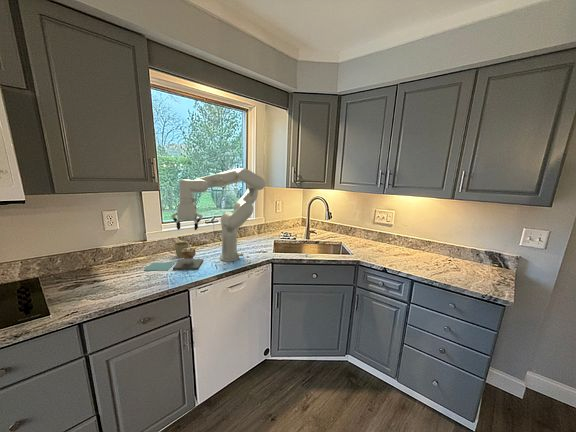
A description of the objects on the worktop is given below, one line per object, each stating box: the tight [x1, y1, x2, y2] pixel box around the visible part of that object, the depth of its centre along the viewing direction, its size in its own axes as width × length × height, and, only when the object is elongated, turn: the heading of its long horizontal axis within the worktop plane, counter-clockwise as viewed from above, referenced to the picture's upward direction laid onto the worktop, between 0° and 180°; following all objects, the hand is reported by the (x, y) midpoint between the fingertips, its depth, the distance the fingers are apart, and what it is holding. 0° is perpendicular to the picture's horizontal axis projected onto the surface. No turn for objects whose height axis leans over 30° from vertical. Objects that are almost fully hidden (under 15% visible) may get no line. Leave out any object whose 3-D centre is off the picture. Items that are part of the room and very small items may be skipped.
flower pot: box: [173, 241, 189, 258], centre depth 162 cm, size 9×9×9 cm
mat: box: [143, 261, 176, 272], centre depth 143 cm, size 13×12×1 cm
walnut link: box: [180, 247, 196, 259], centre depth 146 cm, size 7×7×4 cm
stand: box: [172, 247, 204, 271], centre depth 146 cm, size 14×14×11 cm
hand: (187, 229), depth 143 cm, fingers open, 9 cm apart
